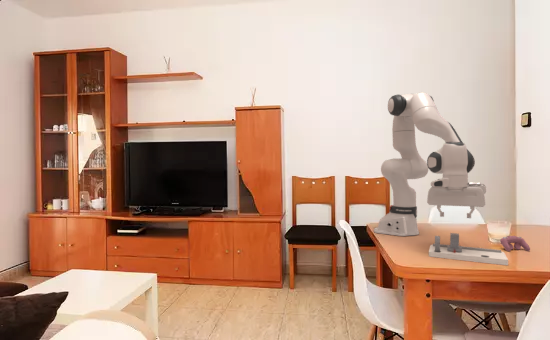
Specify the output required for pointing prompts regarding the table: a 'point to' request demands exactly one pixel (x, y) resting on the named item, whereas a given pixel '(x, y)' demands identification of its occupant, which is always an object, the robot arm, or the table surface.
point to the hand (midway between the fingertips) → (455, 217)
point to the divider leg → (454, 243)
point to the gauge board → (468, 254)
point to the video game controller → (517, 243)
